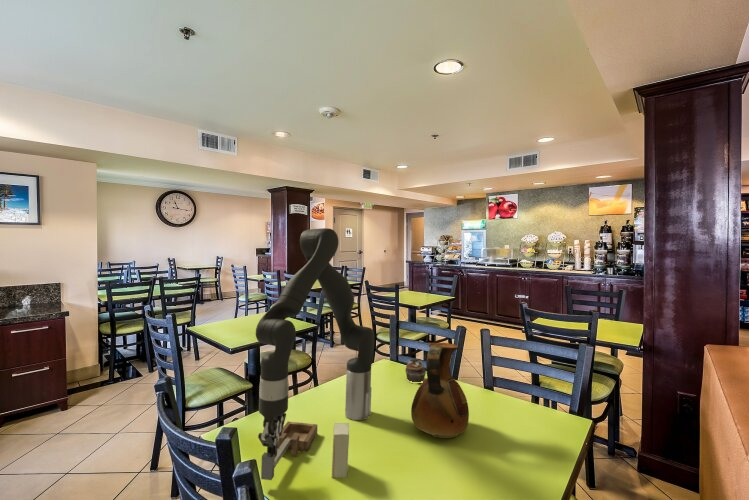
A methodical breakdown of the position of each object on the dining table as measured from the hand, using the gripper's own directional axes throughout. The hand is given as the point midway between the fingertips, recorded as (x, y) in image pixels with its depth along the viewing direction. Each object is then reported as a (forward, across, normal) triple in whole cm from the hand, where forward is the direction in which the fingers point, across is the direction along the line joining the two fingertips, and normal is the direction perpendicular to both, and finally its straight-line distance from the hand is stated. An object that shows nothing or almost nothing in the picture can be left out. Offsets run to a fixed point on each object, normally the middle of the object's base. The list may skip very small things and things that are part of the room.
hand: (272, 457), depth 94 cm
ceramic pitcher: (+6, +35, -46) cm, 58 cm away
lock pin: (+4, +4, 0) cm, 5 cm away
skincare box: (+6, +7, -17) cm, 20 cm away
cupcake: (+6, +78, -37) cm, 87 cm away
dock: (+6, +17, 0) cm, 18 cm away
